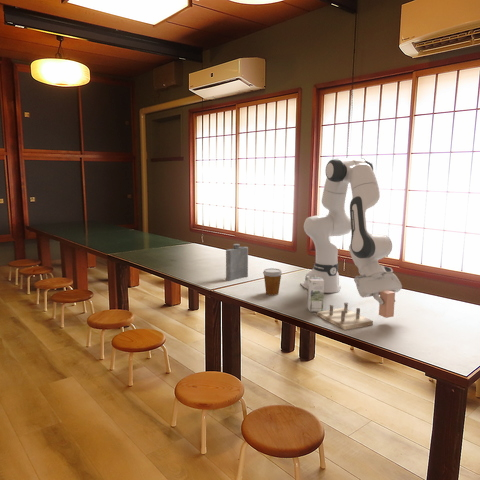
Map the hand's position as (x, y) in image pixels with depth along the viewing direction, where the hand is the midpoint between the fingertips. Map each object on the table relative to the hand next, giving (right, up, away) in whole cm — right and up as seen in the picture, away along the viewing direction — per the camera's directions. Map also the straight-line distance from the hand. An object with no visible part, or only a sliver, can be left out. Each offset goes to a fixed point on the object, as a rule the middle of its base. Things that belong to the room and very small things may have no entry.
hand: (388, 303), depth 163 cm
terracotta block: (0, -5, +1) cm, 5 cm away
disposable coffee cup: (-43, -2, +42) cm, 60 cm away
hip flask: (-61, +3, +72) cm, 95 cm away
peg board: (-16, -8, +5) cm, 19 cm away
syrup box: (-26, -6, +17) cm, 32 cm away
